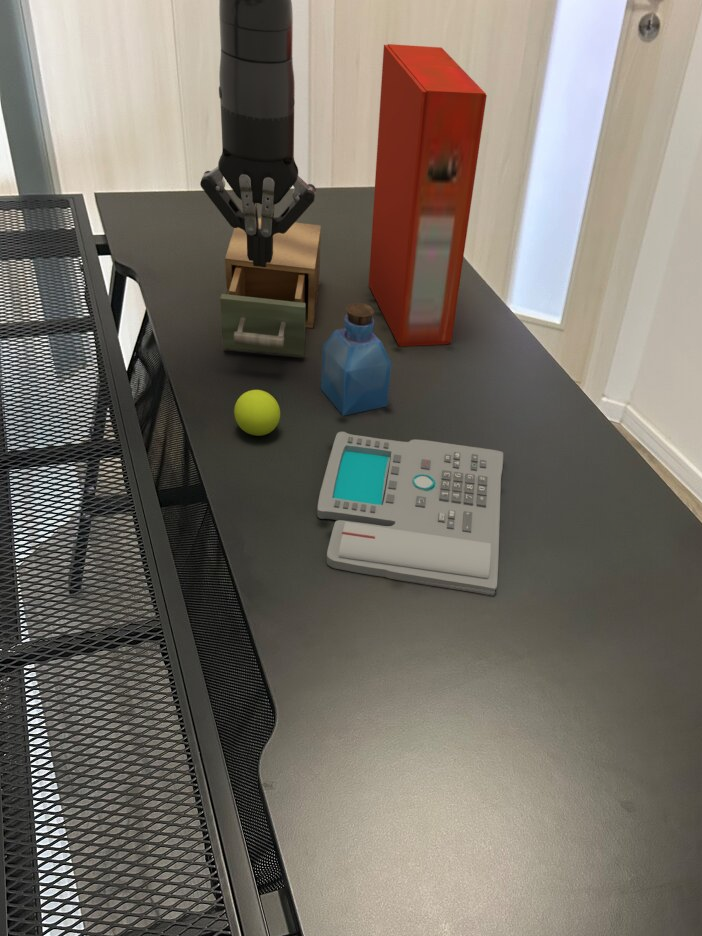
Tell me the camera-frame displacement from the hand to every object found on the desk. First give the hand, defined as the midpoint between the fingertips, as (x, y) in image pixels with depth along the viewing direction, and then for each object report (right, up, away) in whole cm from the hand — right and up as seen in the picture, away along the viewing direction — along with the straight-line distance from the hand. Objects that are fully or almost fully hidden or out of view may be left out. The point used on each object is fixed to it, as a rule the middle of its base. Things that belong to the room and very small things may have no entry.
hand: (260, 263), depth 101 cm
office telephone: (+18, -30, -6) cm, 35 cm away
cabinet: (-3, +3, +22) cm, 22 cm away
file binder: (+16, +2, +24) cm, 29 cm away
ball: (0, -20, 0) cm, 20 cm away
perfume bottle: (+10, -14, +8) cm, 19 cm away
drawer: (-2, -5, +13) cm, 14 cm away
